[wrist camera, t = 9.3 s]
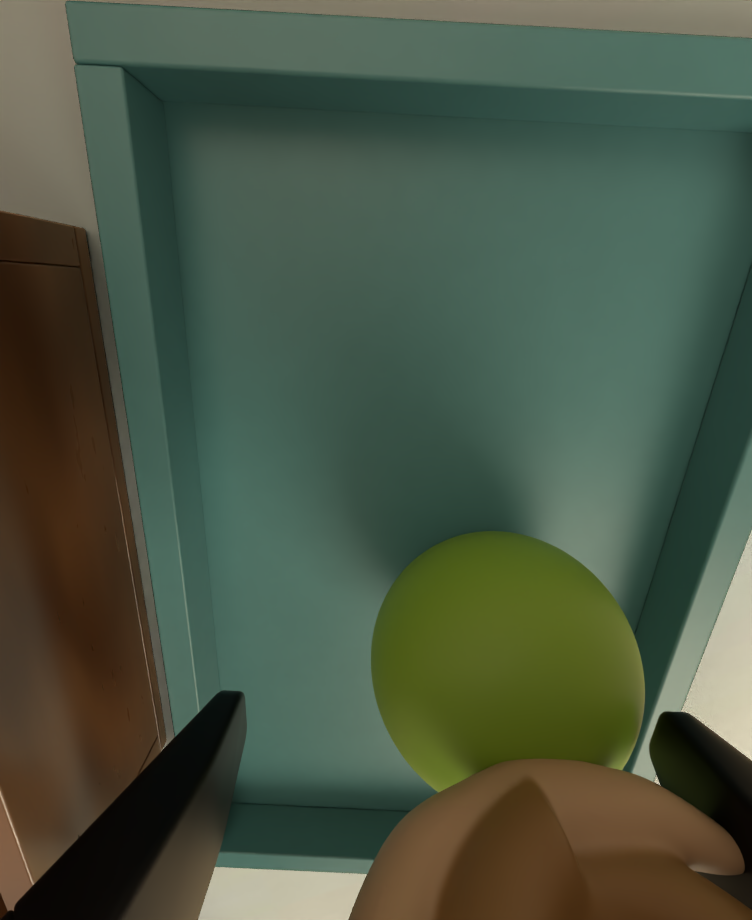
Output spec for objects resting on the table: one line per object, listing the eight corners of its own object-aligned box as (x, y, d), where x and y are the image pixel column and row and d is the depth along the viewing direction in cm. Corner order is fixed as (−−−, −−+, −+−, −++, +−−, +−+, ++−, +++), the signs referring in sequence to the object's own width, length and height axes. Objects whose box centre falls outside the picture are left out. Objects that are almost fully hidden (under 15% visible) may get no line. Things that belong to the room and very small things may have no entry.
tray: (588, 818, 16) (614, 886, 15) (215, 800, 16) (193, 867, 14) (824, 97, 9) (942, 46, 7) (130, 60, 9) (61, -3, 7)
